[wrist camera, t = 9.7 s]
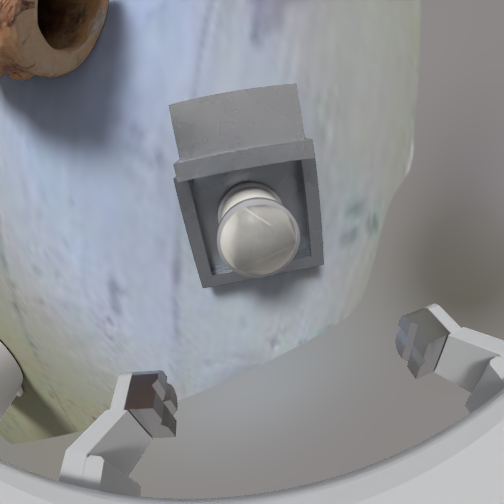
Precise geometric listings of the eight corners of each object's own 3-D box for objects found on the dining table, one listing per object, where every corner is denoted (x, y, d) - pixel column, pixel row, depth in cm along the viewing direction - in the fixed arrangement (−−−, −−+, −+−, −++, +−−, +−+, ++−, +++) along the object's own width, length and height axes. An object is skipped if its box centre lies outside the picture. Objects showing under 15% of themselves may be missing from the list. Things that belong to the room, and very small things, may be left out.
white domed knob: (212, 188, 21) (208, 210, 16) (277, 176, 21) (295, 194, 16) (225, 248, 23) (226, 284, 18) (285, 236, 23) (303, 269, 18)
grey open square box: (204, 273, 25) (201, 301, 21) (165, 111, 19) (152, 109, 15) (315, 251, 25) (331, 276, 21) (295, 89, 19) (313, 81, 15)
